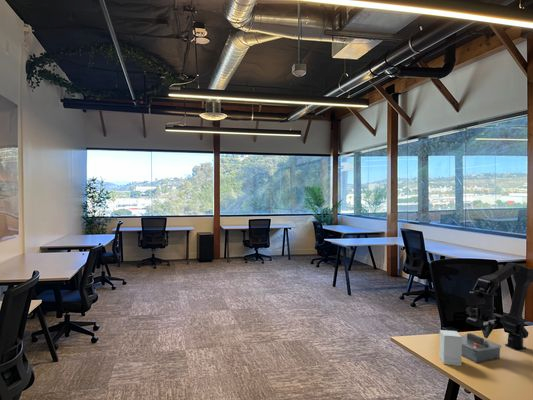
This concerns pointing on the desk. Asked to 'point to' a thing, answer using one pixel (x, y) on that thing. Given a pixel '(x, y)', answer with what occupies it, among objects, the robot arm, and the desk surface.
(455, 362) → the supplement box
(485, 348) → the lid
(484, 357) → the grey open box
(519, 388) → the desk surface
